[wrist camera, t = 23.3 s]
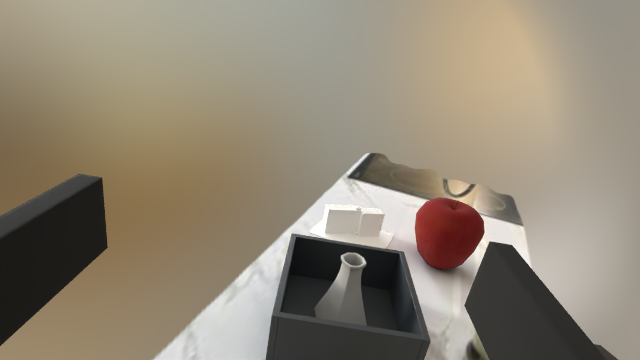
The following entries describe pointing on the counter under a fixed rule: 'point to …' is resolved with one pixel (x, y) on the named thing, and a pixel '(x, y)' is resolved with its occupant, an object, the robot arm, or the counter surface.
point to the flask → (345, 293)
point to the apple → (447, 232)
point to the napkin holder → (353, 225)
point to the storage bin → (339, 337)
